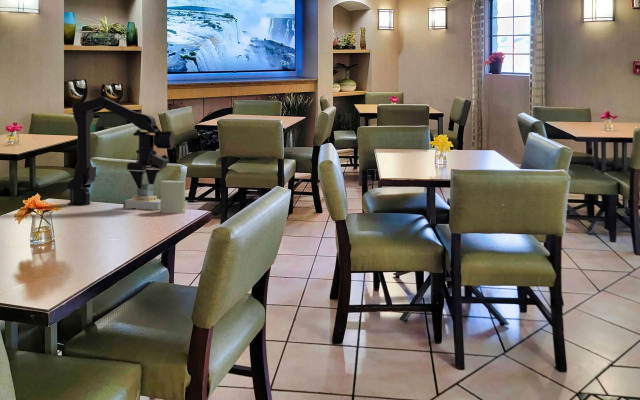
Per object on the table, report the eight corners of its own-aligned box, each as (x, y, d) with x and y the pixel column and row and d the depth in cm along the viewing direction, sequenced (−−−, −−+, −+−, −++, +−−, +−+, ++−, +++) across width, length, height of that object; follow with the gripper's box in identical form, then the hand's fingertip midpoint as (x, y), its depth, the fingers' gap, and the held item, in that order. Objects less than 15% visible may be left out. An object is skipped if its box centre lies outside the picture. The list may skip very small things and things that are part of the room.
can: (188, 211, 227) (189, 180, 225) (180, 214, 217) (181, 181, 216) (165, 210, 227) (165, 178, 226) (156, 212, 218) (156, 180, 217)
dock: (123, 207, 228) (123, 199, 228) (138, 205, 239) (138, 197, 239) (157, 210, 225) (157, 202, 225) (170, 207, 236) (170, 199, 236)
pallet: (132, 199, 230) (133, 184, 229) (140, 198, 236) (140, 183, 235) (149, 200, 228) (149, 185, 228) (156, 199, 234) (157, 184, 234)
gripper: (153, 148, 219) (153, 190, 221) (176, 148, 238) (175, 187, 239) (126, 147, 222) (125, 189, 223) (150, 147, 240) (149, 186, 241)
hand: (145, 188), depth 232 cm, fingers open, 9 cm apart
